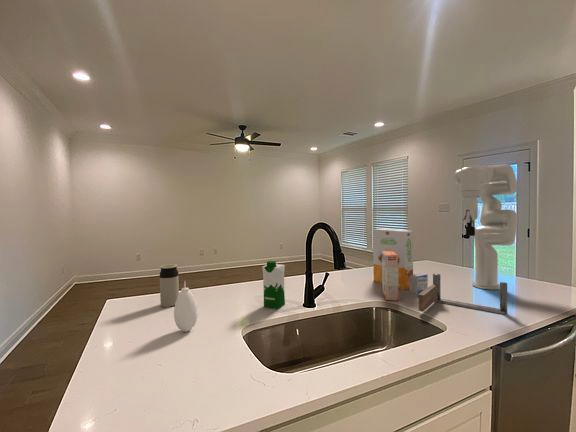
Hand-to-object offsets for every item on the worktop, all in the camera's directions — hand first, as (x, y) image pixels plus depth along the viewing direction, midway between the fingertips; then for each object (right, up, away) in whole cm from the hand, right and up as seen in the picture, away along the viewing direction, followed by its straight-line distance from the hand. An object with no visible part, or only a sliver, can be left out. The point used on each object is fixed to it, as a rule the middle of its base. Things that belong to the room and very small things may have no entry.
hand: (470, 235), depth 133 cm
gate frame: (-6, -29, -8) cm, 31 cm away
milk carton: (-88, -31, -2) cm, 94 cm away
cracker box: (-34, -30, +8) cm, 46 cm away
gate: (-24, -28, -10) cm, 38 cm away
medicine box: (-17, -29, +14) cm, 37 cm away
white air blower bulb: (-119, -33, -27) cm, 126 cm away
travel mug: (-137, -32, +3) cm, 140 cm away
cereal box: (-25, -29, +29) cm, 48 cm away
